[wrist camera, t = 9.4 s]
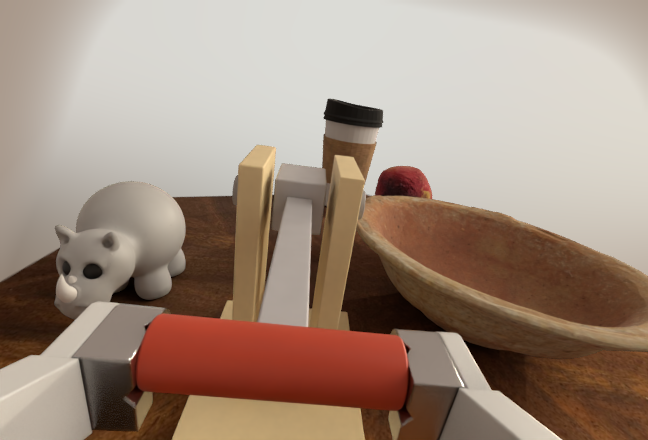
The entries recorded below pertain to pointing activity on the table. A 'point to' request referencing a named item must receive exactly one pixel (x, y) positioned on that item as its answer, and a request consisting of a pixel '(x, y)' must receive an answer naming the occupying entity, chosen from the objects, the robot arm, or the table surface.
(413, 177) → the fruit
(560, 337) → the bowl
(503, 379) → the table surface
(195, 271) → the table surface
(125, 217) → the chubby cartoon animal
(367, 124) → the coffee cup
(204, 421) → the wooden lever stand
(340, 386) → the lever
